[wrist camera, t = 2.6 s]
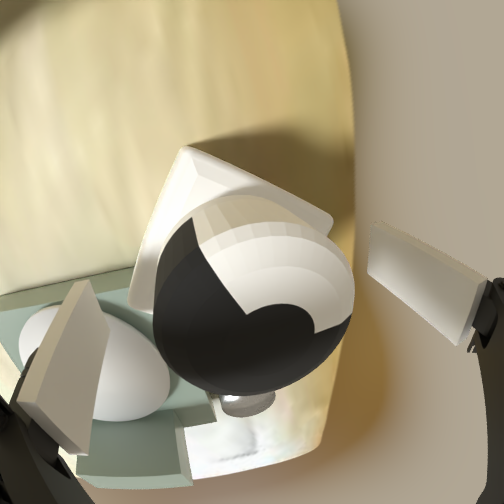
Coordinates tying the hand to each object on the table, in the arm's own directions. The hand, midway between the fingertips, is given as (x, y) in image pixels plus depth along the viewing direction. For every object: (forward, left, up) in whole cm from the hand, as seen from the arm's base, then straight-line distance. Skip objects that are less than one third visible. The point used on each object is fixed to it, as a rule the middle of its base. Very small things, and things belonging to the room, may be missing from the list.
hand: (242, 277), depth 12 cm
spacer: (+16, 0, -9) cm, 18 cm away
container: (0, 0, -9) cm, 9 cm away
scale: (+11, -12, -8) cm, 18 cm away
